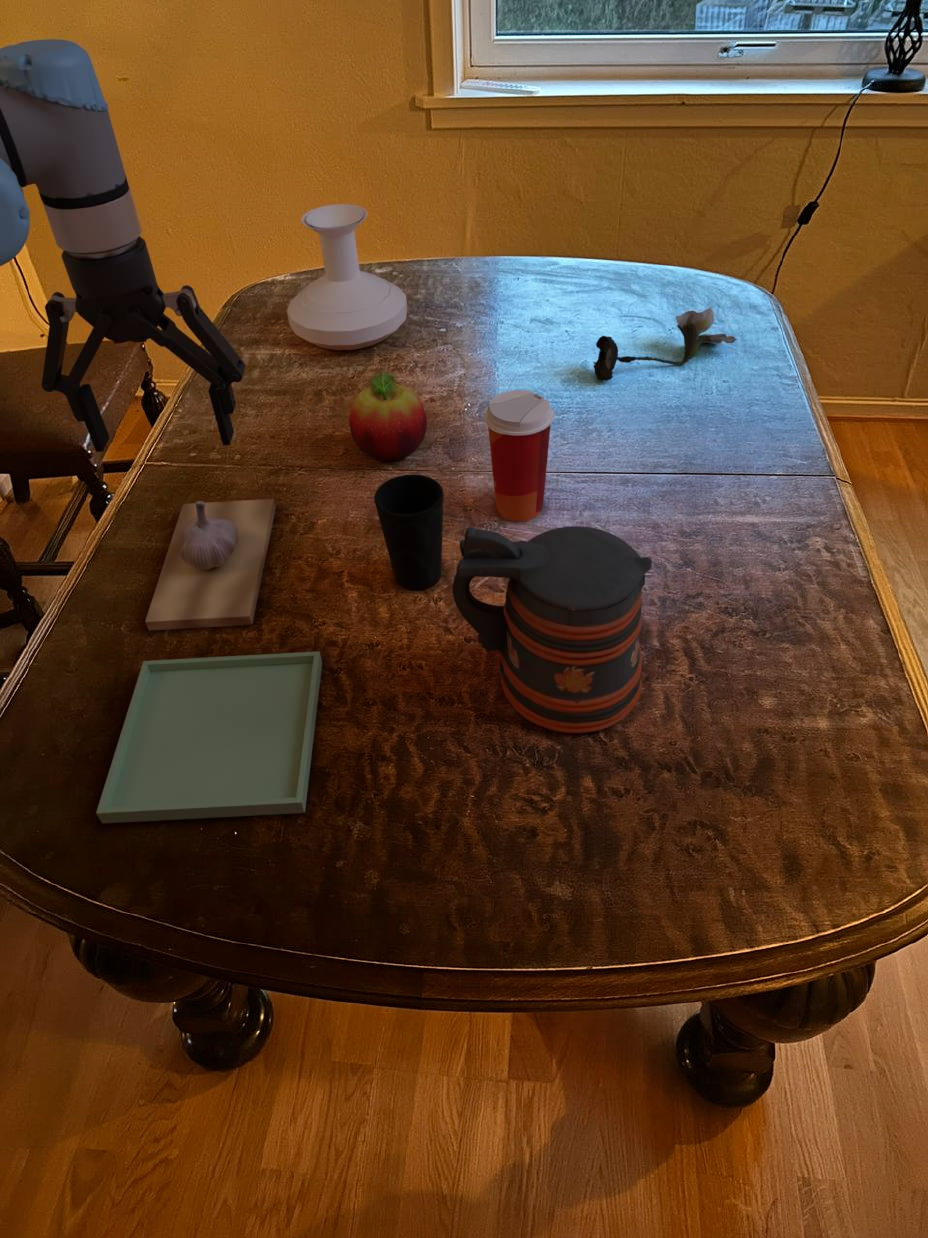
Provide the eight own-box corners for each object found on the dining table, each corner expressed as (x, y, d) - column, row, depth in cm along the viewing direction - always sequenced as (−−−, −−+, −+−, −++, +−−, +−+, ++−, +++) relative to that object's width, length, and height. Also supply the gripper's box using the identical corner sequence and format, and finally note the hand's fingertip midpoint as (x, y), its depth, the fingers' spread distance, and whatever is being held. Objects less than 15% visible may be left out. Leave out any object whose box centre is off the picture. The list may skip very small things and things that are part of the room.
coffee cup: (521, 480, 118) (521, 379, 108) (564, 508, 114) (568, 405, 103) (473, 506, 115) (468, 405, 104) (516, 536, 110) (515, 433, 100)
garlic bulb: (229, 528, 112) (213, 476, 106) (255, 557, 107) (240, 505, 102) (173, 553, 109) (154, 501, 103) (198, 584, 104) (179, 531, 99)
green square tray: (102, 823, 83) (95, 813, 82) (148, 671, 97) (143, 660, 96) (305, 813, 83) (301, 802, 82) (322, 662, 97) (319, 651, 95)
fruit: (351, 474, 121) (341, 410, 114) (355, 430, 129) (346, 368, 122) (429, 469, 121) (423, 405, 114) (429, 426, 129) (423, 363, 122)
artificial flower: (584, 372, 140) (588, 306, 135) (713, 364, 145) (721, 300, 140) (605, 385, 132) (610, 315, 128) (741, 376, 137) (750, 309, 133)
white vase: (290, 314, 157) (267, 200, 143) (401, 299, 159) (389, 186, 145) (295, 368, 143) (271, 249, 129) (417, 352, 145) (406, 232, 131)
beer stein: (457, 739, 88) (444, 593, 74) (460, 633, 99) (449, 488, 85) (649, 736, 87) (672, 587, 73) (632, 630, 98) (649, 482, 84)
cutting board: (148, 631, 101) (144, 621, 100) (185, 512, 117) (182, 503, 116) (252, 625, 101) (249, 615, 100) (276, 507, 117) (273, 498, 116)
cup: (378, 592, 104) (364, 511, 96) (396, 550, 109) (385, 470, 101) (441, 600, 103) (433, 519, 94) (457, 558, 108) (450, 477, 99)
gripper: (244, 220, 83) (284, 417, 98) (-20, 233, 83) (60, 428, 98) (231, 252, 78) (276, 455, 93) (-51, 266, 78) (39, 467, 93)
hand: (165, 441), depth 95 cm, fingers open, 13 cm apart
